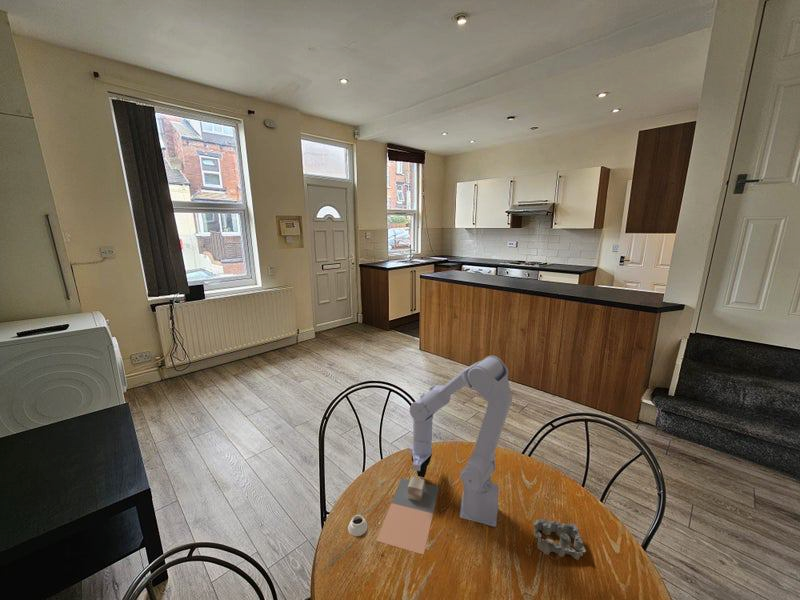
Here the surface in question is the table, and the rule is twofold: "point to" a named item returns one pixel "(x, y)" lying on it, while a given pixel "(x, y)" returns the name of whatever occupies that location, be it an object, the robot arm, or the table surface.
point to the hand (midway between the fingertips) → (421, 475)
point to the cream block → (416, 488)
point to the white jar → (357, 526)
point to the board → (409, 519)
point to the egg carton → (565, 539)
